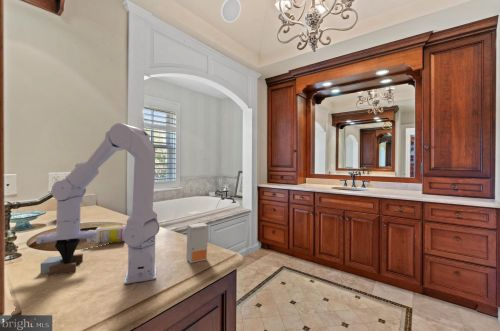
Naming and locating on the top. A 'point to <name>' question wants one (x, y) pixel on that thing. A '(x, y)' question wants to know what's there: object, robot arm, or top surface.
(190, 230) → the skincare box
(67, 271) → the channel
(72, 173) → the robot arm
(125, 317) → the top surface
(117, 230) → the supplement bottle
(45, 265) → the block
